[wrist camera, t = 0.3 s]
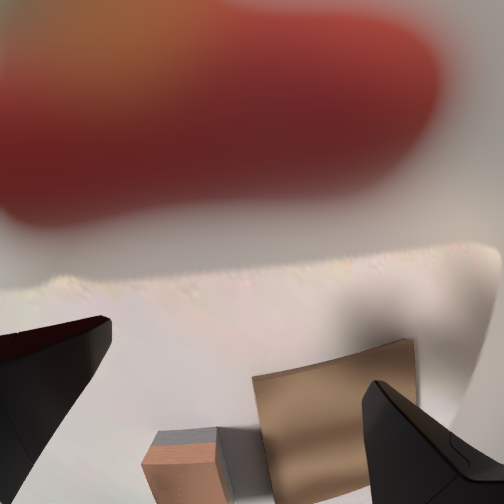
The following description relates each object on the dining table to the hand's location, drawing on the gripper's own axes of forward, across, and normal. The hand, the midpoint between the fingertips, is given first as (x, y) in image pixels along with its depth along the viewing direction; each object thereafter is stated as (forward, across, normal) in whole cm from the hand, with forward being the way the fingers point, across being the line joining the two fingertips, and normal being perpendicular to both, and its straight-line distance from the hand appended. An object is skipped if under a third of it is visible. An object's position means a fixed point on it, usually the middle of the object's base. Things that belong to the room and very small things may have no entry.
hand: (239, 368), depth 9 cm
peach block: (+7, +1, +18) cm, 19 cm away
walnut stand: (+10, -11, +13) cm, 19 cm away
